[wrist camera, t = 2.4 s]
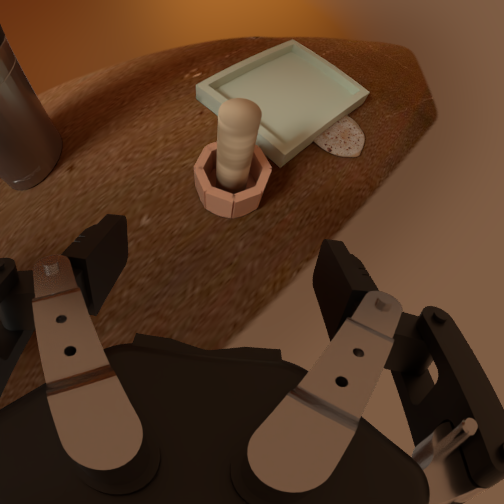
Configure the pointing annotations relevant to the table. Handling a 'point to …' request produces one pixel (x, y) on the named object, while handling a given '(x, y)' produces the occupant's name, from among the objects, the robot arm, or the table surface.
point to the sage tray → (286, 96)
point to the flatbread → (342, 138)
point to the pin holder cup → (225, 201)
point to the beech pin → (236, 143)
